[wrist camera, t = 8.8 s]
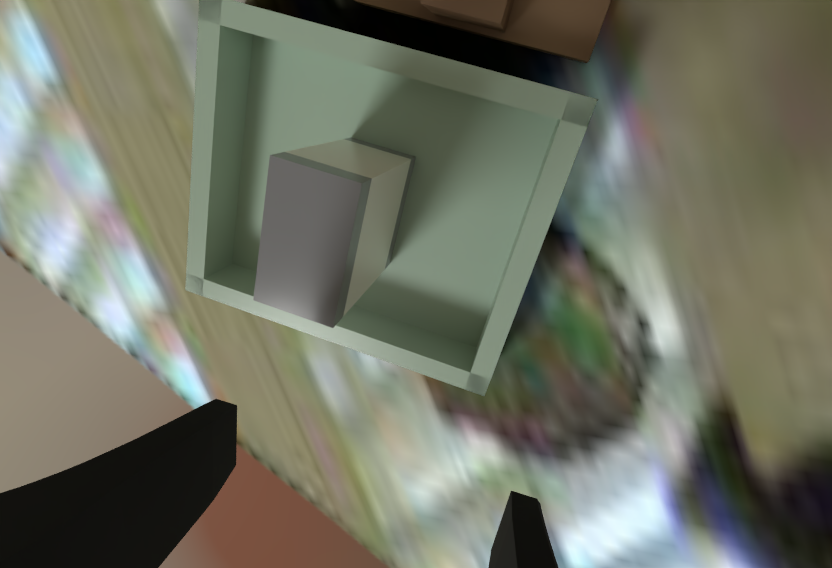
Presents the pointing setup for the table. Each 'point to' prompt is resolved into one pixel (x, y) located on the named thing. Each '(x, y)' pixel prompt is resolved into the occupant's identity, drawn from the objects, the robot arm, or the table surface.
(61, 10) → the table surface
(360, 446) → the table surface
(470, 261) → the parts tray
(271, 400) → the table surface
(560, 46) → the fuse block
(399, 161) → the block
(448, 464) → the table surface
